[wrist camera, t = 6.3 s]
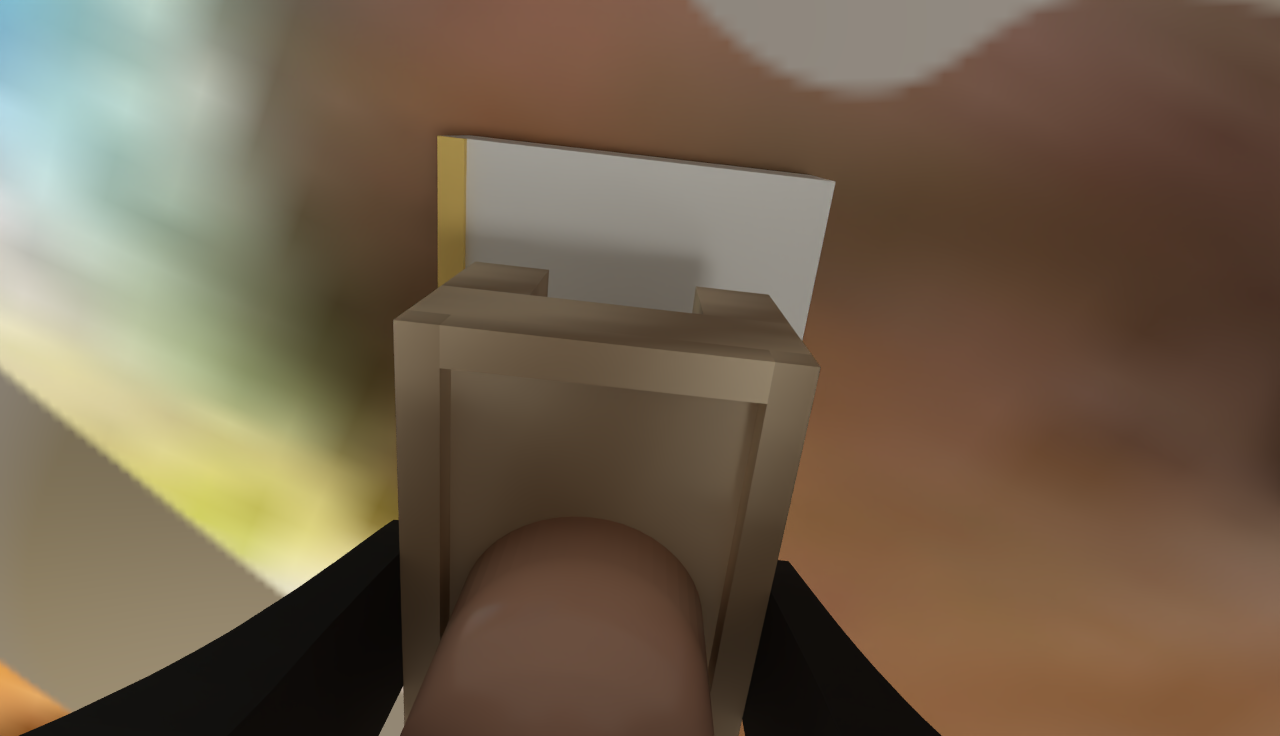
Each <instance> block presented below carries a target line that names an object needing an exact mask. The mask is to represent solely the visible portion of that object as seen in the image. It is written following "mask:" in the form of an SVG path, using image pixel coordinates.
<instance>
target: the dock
mask: <svg viewBox="0 0 1280 736" xmlns="http://www.w3.org/2000/svg"><path fill="white" fill-rule="evenodd" d="M437 163H438V288H439V287H440V286H442V285H443V284H444V283H446V282H447V281H449V280H450V279H451V278H453V277H454V276H456V275H457V274H458V273H460V272H461V271H463V270H464V269H465V268H467V267H468V266H470V265H471V264H472V263H474V262H484V263H493V264H502V265H511V266H520V267H529V268H538V269H546V270H549V280H548V296H547V297H551V298H560V299H569V300H578V301H587V302H596V303H605V304H614V305H623V306H632V307H641V308H650V309H658V310H667V311H676V312H685V313H692V310H693V303H694V296H695V289H696V286H697V287H706V288H715V289H724V290H733V291H742V292H751V293H759V294H768V295H770V297H771V298H772V300H773V301H774V303H775V304H776V305H777V307H778V308H779V310H780V311H781V312H782V314H783V315H784V317H785V318H786V319H787V321H788V322H789V324H790V325H791V326H792V328H793V329H794V331H795V332H796V333H797V335H798V336H799V338H800V339H801V340H803V335H804V330H805V325H806V320H807V316H808V311H809V306H810V301H811V297H812V292H813V287H814V282H815V277H816V273H817V268H818V263H819V258H820V254H821V249H822V244H823V239H824V234H825V230H826V225H827V220H828V215H829V211H830V206H831V201H832V196H833V192H834V187H835V181H831V180H828V179H824V178H820V177H816V176H813V175H807V174H798V173H790V172H781V171H773V170H764V169H755V168H747V167H738V166H730V165H721V164H712V163H704V162H695V161H687V160H678V159H669V158H661V157H652V156H644V155H635V154H626V153H618V152H609V151H601V150H592V149H583V148H575V147H566V146H558V145H549V144H540V143H532V142H523V141H515V140H506V139H497V138H489V137H480V136H472V135H460V136H437Z"/></svg>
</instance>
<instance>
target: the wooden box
mask: <svg viewBox="0 0 1280 736" xmlns="http://www.w3.org/2000/svg"><path fill="white" fill-rule="evenodd" d="M548 280H549V270H546V269H538V268H529V267H520V266H511V265H502V264H493V263H484V262H474V263H472V264H471V265H470V266H468V267H467V268H465V269H464V270H463V271H461V272H460V273H458V274H457V275H456V276H454V277H453V278H451V279H450V280H449V281H447V282H446V283H444V284H443V285H442V286H440V287H439V288H437V289H436V290H435V291H433V292H432V293H430V294H429V295H427V296H426V297H425V298H423V299H422V300H420V301H419V302H418V303H416V304H415V305H413V306H412V307H411V308H409V309H408V310H406V311H405V312H404V313H402V314H401V315H399V316H398V317H397V318H395V319H394V320H393V331H394V367H395V402H396V438H397V474H398V510H399V546H400V582H401V617H402V653H403V689H404V720H405V721H404V725H405V723H406V721H407V718H408V716H409V714H410V711H411V709H412V706H413V704H414V702H415V699H416V697H417V695H418V692H419V690H420V688H421V685H422V683H423V680H424V678H425V676H426V673H427V671H428V669H429V666H430V664H431V661H432V659H433V657H434V654H435V652H436V650H437V647H438V645H439V643H440V640H441V638H442V635H443V633H444V631H445V628H446V626H447V624H448V621H449V619H450V617H451V614H452V612H453V609H454V607H455V605H456V602H457V600H458V598H459V595H460V593H461V590H462V588H463V586H464V583H465V581H466V579H467V577H468V574H469V572H470V570H471V569H472V567H473V566H474V564H475V563H476V561H477V560H478V558H479V557H480V556H481V555H482V554H483V553H484V552H485V551H486V549H488V548H489V547H490V546H491V545H492V544H494V543H495V542H496V541H497V540H499V539H500V538H502V537H503V536H505V535H507V534H508V533H510V532H512V531H514V530H516V529H518V528H520V527H523V526H525V525H528V524H531V523H534V522H538V521H541V520H547V519H552V518H558V517H573V516H574V517H592V518H598V519H605V520H609V521H613V522H617V523H620V524H624V525H626V526H629V527H631V528H634V529H636V530H639V531H641V532H642V533H644V534H646V535H648V536H650V537H652V538H653V539H655V540H656V541H657V542H659V543H660V544H662V545H663V546H664V547H666V548H667V549H668V550H669V551H670V552H671V553H672V554H673V555H674V556H675V557H677V559H678V560H679V561H680V562H681V563H682V565H683V566H684V567H685V568H686V570H687V571H688V573H689V575H690V576H691V578H692V580H693V581H694V584H695V586H696V589H697V591H698V594H699V598H700V602H701V606H702V615H703V625H704V635H705V645H706V655H707V665H708V676H709V686H710V696H711V706H712V716H713V726H714V736H738V735H739V731H740V726H741V722H742V717H743V713H744V708H745V704H746V699H747V695H748V690H749V686H750V681H751V677H752V672H753V668H754V663H755V659H756V654H757V650H758V646H759V641H760V637H761V632H762V628H763V623H764V619H765V614H766V610H767V605H768V601H769V596H770V592H771V587H772V583H773V578H774V574H775V569H776V565H777V561H778V556H779V552H780V547H781V543H782V538H783V534H784V529H785V525H786V520H787V516H788V511H789V507H790V502H791V498H792V493H793V489H794V484H795V480H796V476H797V471H798V467H799V462H800V458H801V453H802V449H803V444H804V440H805V435H806V431H807V426H808V422H809V417H810V413H811V408H812V404H813V399H814V395H815V391H816V386H817V382H818V377H819V373H820V368H821V367H820V366H819V364H818V363H817V361H816V360H815V359H814V357H813V356H812V354H811V353H810V352H809V350H808V349H807V347H806V346H805V345H804V343H803V342H802V340H801V339H800V338H799V336H798V335H797V333H796V332H795V331H794V329H793V328H792V326H791V325H790V324H789V322H788V321H787V319H786V318H785V317H784V315H783V314H782V312H781V311H780V310H779V308H778V307H777V305H776V304H775V303H774V301H773V300H772V298H771V297H770V295H768V294H759V293H751V292H742V291H733V290H724V289H715V288H706V287H697V286H696V289H695V296H694V303H693V310H692V313H685V312H676V311H667V310H658V309H650V308H641V307H632V306H623V305H614V304H605V303H596V302H587V301H578V300H569V299H560V298H551V297H547V296H548Z"/></svg>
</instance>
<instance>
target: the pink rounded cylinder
mask: <svg viewBox="0 0 1280 736" xmlns="http://www.w3.org/2000/svg"><path fill="white" fill-rule="evenodd" d="M400 736H714V726H713V716H712V706H711V696H710V686H709V676H708V665H707V655H706V645H705V635H704V625H703V615H702V606H701V602H700V598H699V594H698V591H697V589H696V586H695V584H694V581H693V580H692V578H691V576H690V575H689V573H688V571H687V570H686V568H685V567H684V566H683V565H682V563H681V562H680V561H679V560H678V559H677V557H675V556H674V555H673V554H672V553H671V552H670V551H669V550H668V549H667V548H666V547H664V546H663V545H662V544H660V543H659V542H657V541H656V540H655V539H653V538H652V537H650V536H648V535H646V534H644V533H642V532H641V531H639V530H636V529H634V528H631V527H629V526H626V525H624V524H620V523H617V522H613V521H609V520H605V519H598V518H592V517H574V516H573V517H558V518H552V519H547V520H541V521H538V522H534V523H531V524H528V525H525V526H523V527H520V528H518V529H516V530H514V531H512V532H510V533H508V534H507V535H505V536H503V537H502V538H500V539H499V540H497V541H496V542H495V543H494V544H492V545H491V546H490V547H489V548H488V549H486V551H485V552H484V553H483V554H482V555H481V556H480V557H479V558H478V560H477V561H476V563H475V564H474V566H473V567H472V569H471V570H470V572H469V574H468V577H467V579H466V581H465V583H464V586H463V588H462V590H461V593H460V595H459V598H458V600H457V602H456V605H455V607H454V609H453V612H452V614H451V617H450V619H449V621H448V624H447V626H446V628H445V631H444V633H443V635H442V638H441V640H440V643H439V645H438V647H437V650H436V652H435V654H434V657H433V659H432V661H431V664H430V666H429V669H428V671H427V673H426V676H425V678H424V680H423V683H422V685H421V688H420V690H419V692H418V695H417V697H416V699H415V702H414V704H413V706H412V709H411V711H410V714H409V716H408V718H407V721H406V723H405V725H404V728H403V730H402V733H401V735H400Z"/></svg>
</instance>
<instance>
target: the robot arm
mask: <svg viewBox="0 0 1280 736" xmlns="http://www.w3.org/2000/svg"><path fill="white" fill-rule="evenodd" d="M402 687H403V653H402V617H401V582H400V546H399V520H393V521H391V522H390V523H388V524H387V525H385V526H384V527H382V528H381V529H380V530H378V531H377V532H375V533H374V534H373V535H371V536H370V537H369V538H367V539H366V540H364V541H363V542H362V543H360V544H359V545H358V546H356V547H355V548H353V549H352V550H351V551H349V552H348V553H347V554H345V555H344V556H342V557H341V558H340V559H338V560H337V561H336V562H334V563H333V564H331V565H330V566H328V567H327V568H326V569H324V570H323V571H321V572H320V573H319V574H317V575H316V576H314V577H313V578H311V579H310V580H309V581H307V582H306V583H304V584H303V585H301V586H300V587H299V588H297V589H296V590H294V591H292V592H291V593H289V594H288V595H286V596H285V597H283V598H282V599H280V600H279V601H277V602H275V603H274V604H272V605H271V606H269V607H268V608H266V609H264V610H263V611H262V612H260V613H258V614H257V615H255V616H254V617H252V618H250V619H249V620H247V621H246V622H244V623H243V624H241V625H240V626H238V627H236V628H235V629H233V630H231V631H230V632H228V633H226V634H225V635H223V636H221V637H220V638H218V639H216V640H214V641H212V642H211V643H209V644H207V645H205V646H204V647H202V648H200V649H198V650H197V651H195V652H193V653H191V654H189V655H187V656H185V657H184V658H182V659H180V660H178V661H176V662H175V663H172V664H171V665H169V666H167V667H165V668H163V669H161V670H159V671H157V672H155V673H154V674H152V675H150V676H148V677H146V678H144V679H142V680H139V681H138V682H135V683H134V684H131V685H129V686H127V687H125V688H123V689H121V690H118V691H116V692H114V693H112V694H110V695H108V696H106V697H104V698H102V699H100V700H97V701H96V702H93V703H91V704H89V705H87V706H85V707H83V708H81V709H79V710H77V711H74V712H72V713H70V714H68V715H66V716H63V717H61V718H59V719H57V720H54V721H52V722H50V723H47V724H45V725H43V726H40V727H38V728H36V729H33V730H31V731H29V732H26V733H24V734H22V735H19V736H379V734H380V732H381V730H382V728H383V726H384V724H385V722H386V720H387V718H388V716H389V713H390V711H391V709H392V707H393V705H394V703H395V701H396V699H397V697H398V695H399V693H400V691H401V689H402ZM742 721H743V726H744V732H745V736H941V735H940V734H939V733H938V732H937V731H936V730H935V729H934V728H933V727H932V726H931V725H930V724H929V723H928V722H926V721H925V720H924V719H923V718H922V717H921V716H920V715H919V714H918V713H917V712H916V711H915V710H914V709H913V708H912V707H911V706H910V705H909V704H908V703H907V702H906V701H905V700H904V698H903V697H902V696H901V695H900V694H899V693H898V692H897V691H896V690H895V689H894V688H893V687H892V686H891V685H890V683H889V682H888V681H887V680H886V679H885V678H884V677H883V676H882V675H881V674H880V673H879V672H878V671H877V670H876V668H875V667H874V666H873V665H872V664H871V663H870V662H869V660H868V659H867V658H866V657H865V656H864V655H863V654H862V652H861V651H860V650H859V649H858V648H857V647H856V645H855V644H854V643H853V642H852V641H851V639H850V638H849V637H848V636H847V635H846V634H845V632H844V631H843V630H842V629H841V627H840V626H839V625H838V624H837V622H836V621H835V620H834V619H833V618H832V616H831V615H830V614H829V612H828V611H827V610H826V609H825V607H824V606H823V605H822V604H821V602H820V601H819V600H818V598H817V597H816V596H815V595H814V593H813V592H812V591H811V589H810V588H809V587H808V586H807V584H806V583H805V582H804V580H803V579H802V578H801V577H800V575H799V574H798V573H797V571H796V570H795V569H794V568H793V566H792V565H791V564H790V563H789V561H781V560H778V561H777V565H776V569H775V574H774V578H773V583H772V587H771V592H770V596H769V601H768V605H767V610H766V614H765V619H764V623H763V628H762V632H761V637H760V641H759V646H758V650H757V654H756V659H755V663H754V668H753V672H752V677H751V681H750V686H749V690H748V695H747V699H746V704H745V708H744V713H743V717H742Z"/></svg>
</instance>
